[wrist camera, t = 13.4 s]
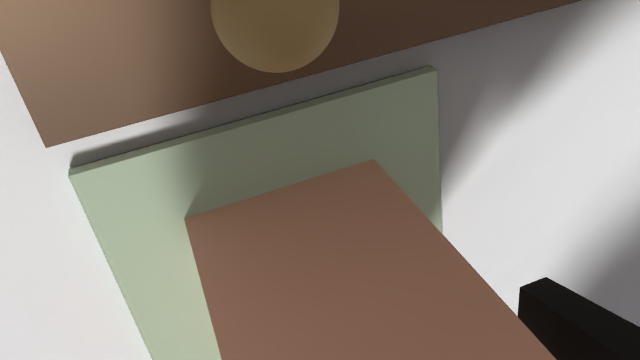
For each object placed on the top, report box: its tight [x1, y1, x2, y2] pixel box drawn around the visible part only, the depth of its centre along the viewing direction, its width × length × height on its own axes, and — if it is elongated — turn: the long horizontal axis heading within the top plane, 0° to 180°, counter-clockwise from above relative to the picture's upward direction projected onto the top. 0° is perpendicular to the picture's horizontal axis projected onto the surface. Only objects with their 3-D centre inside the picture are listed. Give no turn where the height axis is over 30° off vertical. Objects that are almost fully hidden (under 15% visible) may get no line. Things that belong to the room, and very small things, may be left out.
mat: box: [68, 66, 442, 360], centre depth 14 cm, size 8×8×1 cm
